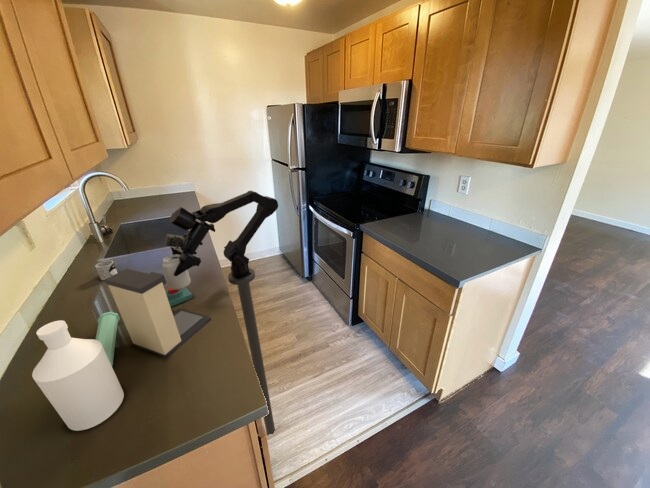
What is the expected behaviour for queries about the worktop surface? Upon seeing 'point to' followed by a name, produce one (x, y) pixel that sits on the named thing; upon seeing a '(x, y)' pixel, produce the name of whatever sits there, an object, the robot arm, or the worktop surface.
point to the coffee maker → (152, 312)
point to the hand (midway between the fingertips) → (172, 271)
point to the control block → (179, 296)
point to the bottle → (77, 377)
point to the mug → (106, 269)
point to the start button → (172, 291)
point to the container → (108, 333)
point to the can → (169, 269)
